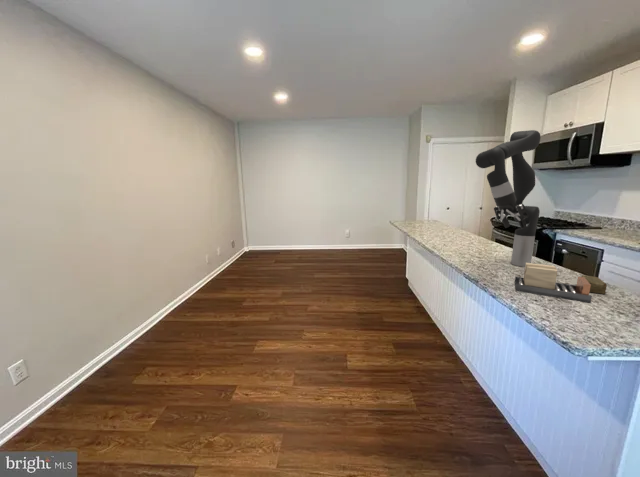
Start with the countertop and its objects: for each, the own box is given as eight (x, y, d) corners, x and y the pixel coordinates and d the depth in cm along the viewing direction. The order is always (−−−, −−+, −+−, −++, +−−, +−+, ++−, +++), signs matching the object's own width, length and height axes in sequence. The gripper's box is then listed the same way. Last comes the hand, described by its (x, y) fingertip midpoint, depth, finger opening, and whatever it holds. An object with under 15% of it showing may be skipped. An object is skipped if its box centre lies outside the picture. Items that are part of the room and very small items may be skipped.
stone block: (587, 292, 117) (589, 281, 116) (578, 284, 127) (580, 274, 126) (606, 295, 114) (608, 284, 113) (595, 286, 124) (597, 275, 123)
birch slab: (523, 279, 126) (525, 262, 124) (551, 283, 121) (554, 266, 119) (524, 284, 119) (527, 267, 118) (554, 289, 114) (557, 271, 113)
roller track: (514, 282, 130) (516, 268, 128) (583, 292, 117) (586, 276, 116) (515, 290, 120) (517, 275, 119) (590, 302, 107) (594, 286, 106)
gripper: (524, 188, 112) (537, 224, 114) (497, 191, 126) (509, 223, 128) (509, 195, 111) (522, 231, 113) (483, 198, 126) (496, 230, 127)
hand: (515, 227), depth 121 cm, fingers open, 8 cm apart
